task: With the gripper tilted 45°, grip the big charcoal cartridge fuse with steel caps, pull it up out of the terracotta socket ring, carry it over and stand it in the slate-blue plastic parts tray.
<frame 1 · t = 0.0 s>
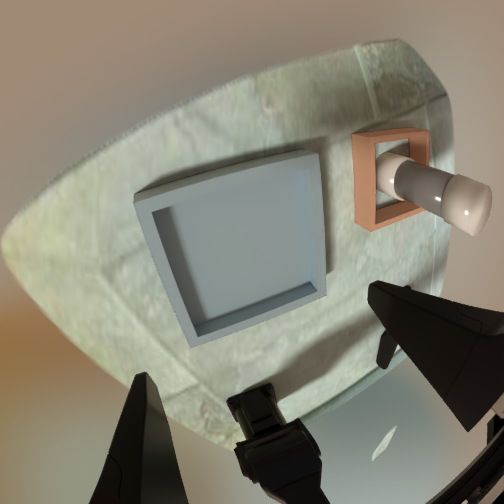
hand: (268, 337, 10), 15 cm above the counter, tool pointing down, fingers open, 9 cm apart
parts tray: (239, 245, 25), on the counter
electric trimmer: (388, 324, 41), on the counter
socket ring: (386, 172, 27), on the counter
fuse: (429, 188, 22), in the socket ring
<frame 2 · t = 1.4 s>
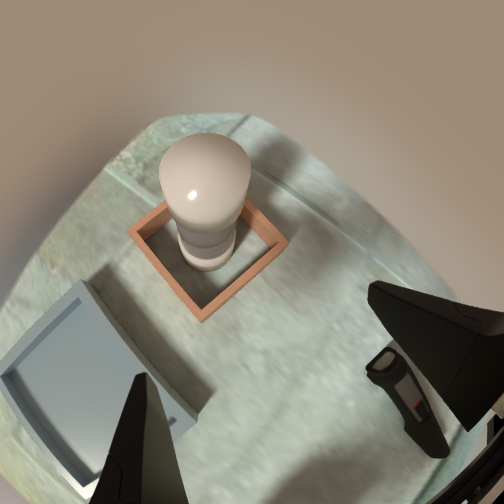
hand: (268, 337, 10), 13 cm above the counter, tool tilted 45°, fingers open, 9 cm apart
parts tray: (85, 396, 19), on the counter
electric trimmer: (407, 407, 23), on the counter
socket ring: (207, 246, 25), on the counter
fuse: (206, 218, 19), in the socket ring
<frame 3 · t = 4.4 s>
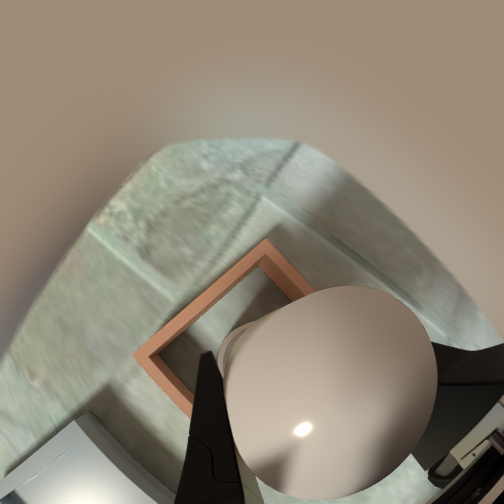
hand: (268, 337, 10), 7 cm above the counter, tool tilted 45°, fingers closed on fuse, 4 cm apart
electric trimmer: (459, 487, 14), on the counter
socket ring: (255, 360, 16), on the counter
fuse: (279, 371, 10), in the socket ring, touching gripper
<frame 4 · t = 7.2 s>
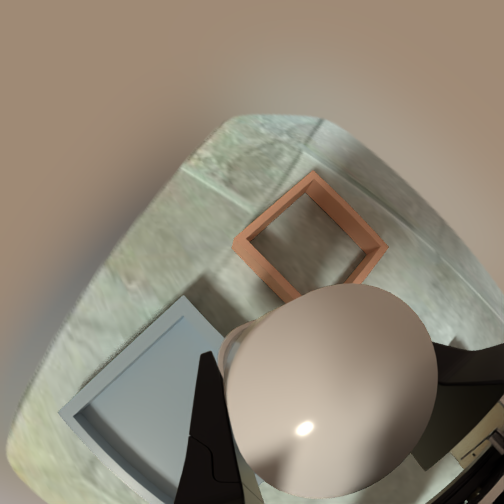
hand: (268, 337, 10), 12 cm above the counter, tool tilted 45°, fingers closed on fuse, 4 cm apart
parts tray: (185, 423, 19), on the counter
socket ring: (309, 251, 24), on the counter
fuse: (279, 370, 10), point 12 cm above the counter, touching gripper
when the fingers open (8 cm above the counter, at t = 9.1 s): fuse stays where it is, resting on parts tray.
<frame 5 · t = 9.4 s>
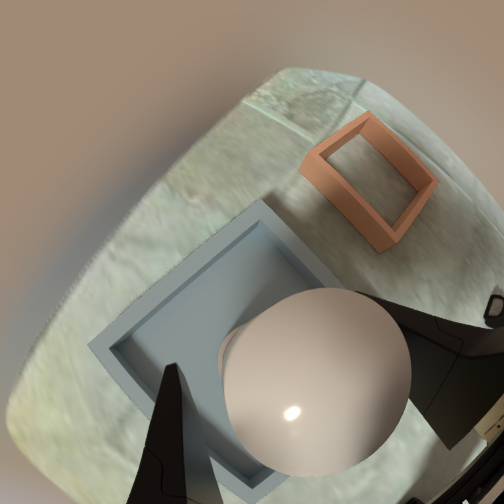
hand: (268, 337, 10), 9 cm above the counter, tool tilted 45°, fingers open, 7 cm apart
parts tray: (250, 358, 18), on the counter
socket ring: (369, 181, 23), on the counter
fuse: (273, 367, 11), in the parts tray, point 7 cm above the counter
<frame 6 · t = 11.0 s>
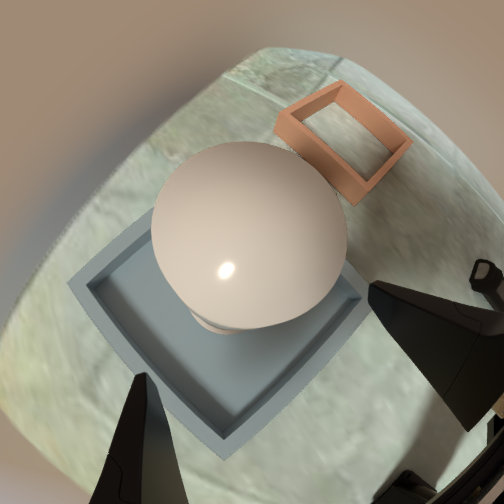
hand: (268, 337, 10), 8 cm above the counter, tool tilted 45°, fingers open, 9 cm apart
parts tray: (224, 300, 19), on the counter
electric trimmer: (500, 314, 22), on the counter
socket ring: (343, 142, 24), on the counter
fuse: (232, 279, 12), in the parts tray, point 7 cm above the counter
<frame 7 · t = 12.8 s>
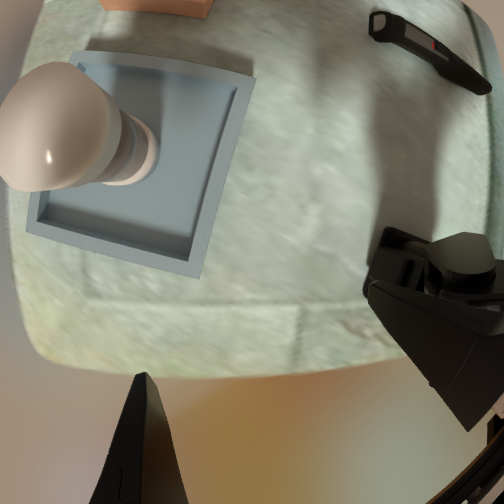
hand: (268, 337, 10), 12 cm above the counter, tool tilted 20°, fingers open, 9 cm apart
parts tray: (133, 155, 19), on the counter
electric trimmer: (427, 57, 20), on the counter
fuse: (99, 143, 12), in the parts tray, point 7 cm above the counter
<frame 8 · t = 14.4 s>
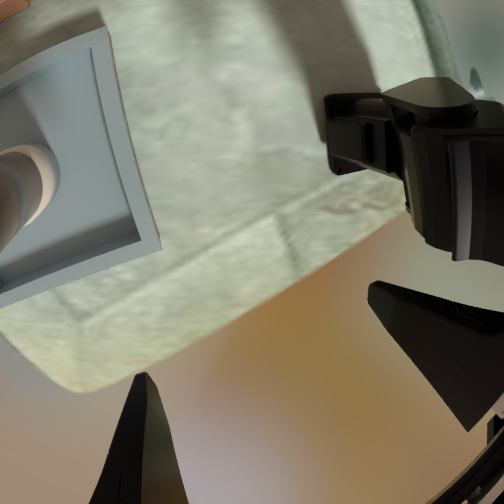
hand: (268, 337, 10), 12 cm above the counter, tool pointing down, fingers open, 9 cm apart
parts tray: (35, 174, 14), on the counter
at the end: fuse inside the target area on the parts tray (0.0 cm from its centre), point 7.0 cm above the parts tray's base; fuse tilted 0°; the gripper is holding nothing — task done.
